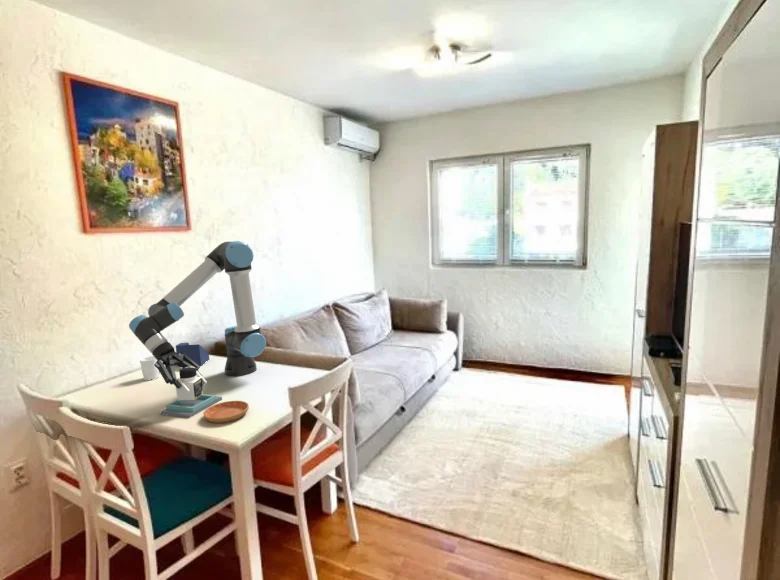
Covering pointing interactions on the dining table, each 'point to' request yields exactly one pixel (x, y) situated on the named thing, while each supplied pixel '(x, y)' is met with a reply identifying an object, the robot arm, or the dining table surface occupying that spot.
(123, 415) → the dining table surface
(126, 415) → the dining table surface
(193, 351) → the blue wedge block
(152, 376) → the white cup
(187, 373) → the medicine bottle
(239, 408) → the saucer
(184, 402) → the dock
